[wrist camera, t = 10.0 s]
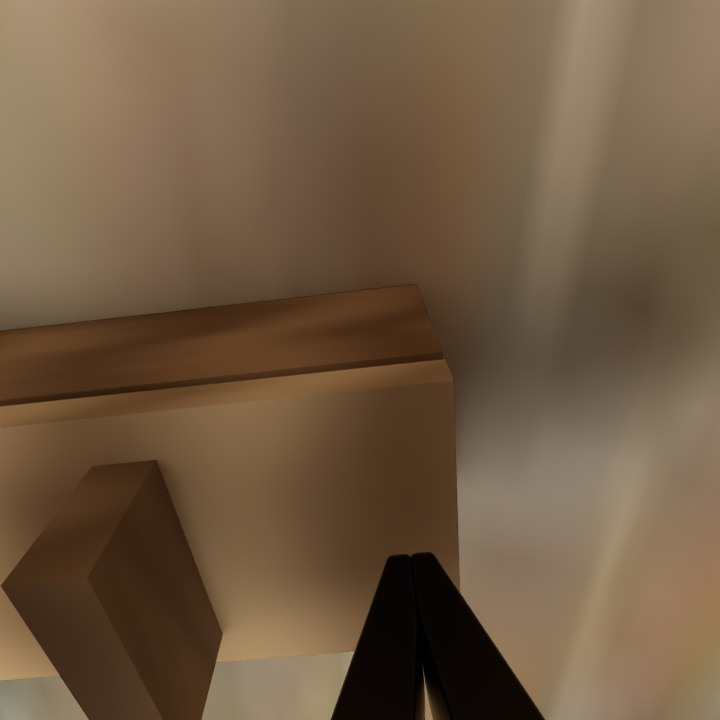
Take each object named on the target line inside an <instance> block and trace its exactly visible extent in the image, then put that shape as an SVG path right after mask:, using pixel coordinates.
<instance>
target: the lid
mask: <svg viewBox="0 0 720 720" xmlns="http://www.w3.org/2000/svg"><path fill="white" fill-rule="evenodd" d="M421 552H432V553H433V554H434V555H435V556H436V558H437V559H438V561H439V562H440V564H441V565H442V567H443V568H444V570H445V571H446V573H447V574H448V576H449V577H450V579H451V580H452V581H453V583H454V584H455V586H456V587H457V589H458V590H459V592H460V578H459V544H458V510H457V477H456V443H455V409H454V380H453V377H452V375H451V372H450V370H449V367H448V365H447V362H446V359H442V360H433V361H423V362H414V363H405V364H395V365H386V366H376V367H367V368H358V369H348V370H339V371H330V372H320V373H311V374H301V375H292V376H283V377H273V378H264V379H254V380H245V381H236V382H226V383H217V384H208V385H198V386H189V387H179V388H170V389H161V390H151V391H142V392H133V393H123V394H114V395H104V396H95V397H86V398H76V399H67V400H57V401H48V402H39V403H29V404H20V405H11V406H1V407H0V680H12V679H24V678H37V677H49V676H60V677H61V678H62V680H63V681H64V683H65V684H66V686H67V687H68V689H69V690H70V692H71V693H72V695H73V696H74V698H75V699H76V701H77V702H78V704H79V705H80V707H81V708H82V710H83V711H84V713H85V714H86V716H87V717H88V719H89V720H201V718H202V714H203V710H204V706H205V703H206V699H207V695H208V691H209V687H210V683H211V679H212V675H213V671H214V667H215V663H218V662H230V661H242V660H254V659H266V658H278V657H290V656H302V655H314V654H326V653H338V652H350V651H355V649H356V646H357V643H358V640H359V637H360V634H361V632H362V629H363V626H364V623H365V620H366V617H367V614H368V612H369V609H370V606H371V603H372V600H373V597H374V594H375V591H376V589H377V586H378V583H379V580H380V577H381V574H382V571H383V569H384V566H385V563H386V560H387V558H388V557H389V556H390V555H398V554H408V555H409V556H410V558H411V555H412V554H413V553H421Z"/></svg>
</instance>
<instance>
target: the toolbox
mask: <svg viewBox="0 0 720 720" xmlns="http://www.w3.org/2000/svg"><path fill="white" fill-rule="evenodd" d="M442 359H443V352H442V349H441V347H440V344H439V341H438V339H437V336H436V334H435V331H434V329H433V326H432V323H431V321H430V318H429V316H428V313H427V311H426V308H425V305H424V303H423V300H422V298H421V295H420V293H419V290H418V287H417V285H416V284H414V285H406V286H397V287H388V288H379V289H370V290H361V291H353V292H344V293H335V294H326V295H317V296H308V297H299V298H291V299H282V300H273V301H264V302H255V303H246V304H238V305H229V306H220V307H211V308H202V309H193V310H185V311H176V312H167V313H158V314H149V315H140V316H131V317H123V318H114V319H105V320H96V321H87V322H78V323H70V324H61V325H52V326H43V327H34V328H25V329H17V330H8V331H0V407H1V406H11V405H20V404H29V403H39V402H48V401H57V400H67V399H76V398H86V397H95V396H104V395H114V394H123V393H133V392H142V391H151V390H161V389H170V388H179V387H189V386H198V385H208V384H217V383H226V382H236V381H245V380H254V379H264V378H273V377H283V376H292V375H301V374H311V373H320V372H330V371H339V370H348V369H358V368H367V367H376V366H386V365H395V364H405V363H414V362H423V361H433V360H442Z"/></svg>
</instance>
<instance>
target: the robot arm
mask: <svg viewBox="0 0 720 720" xmlns="http://www.w3.org/2000/svg"><path fill="white" fill-rule="evenodd" d="M422 663H423V664H422ZM423 671H424V675H423ZM424 678H425V684H426V689H427V694H428V699H429V703H430V708H431V712H432V716H433V720H545V719H544V717H543V716H542V714H541V713H540V711H539V710H538V708H537V707H536V705H535V704H534V702H533V701H532V699H531V698H530V696H529V695H528V693H527V692H526V690H525V689H524V687H523V686H522V684H521V683H520V681H519V680H518V678H517V677H516V675H515V674H514V672H513V671H512V669H511V668H510V666H509V665H508V663H507V662H506V660H505V659H504V657H503V656H502V655H501V653H500V652H499V650H498V649H497V647H496V646H495V644H494V643H493V641H492V640H491V638H490V637H489V635H488V634H487V632H486V631H485V629H484V628H483V626H482V625H481V623H480V622H479V620H478V619H477V617H476V616H475V614H474V613H473V611H472V610H471V608H470V607H469V605H468V604H467V602H466V601H465V599H464V598H463V596H462V595H461V593H460V592H459V590H458V589H457V587H456V586H455V584H454V583H453V581H452V580H451V579H450V577H449V576H448V574H447V573H446V571H445V570H444V568H443V567H442V565H441V564H440V562H439V561H438V559H437V558H436V556H435V555H434V554H433V553H432V552H421V553H413V554H412V555H411V558H410V556H409V555H408V554H398V555H390V556H389V557H388V558H387V560H386V563H385V566H384V569H383V571H382V574H381V577H380V580H379V583H378V586H377V589H376V591H375V594H374V597H373V600H372V603H371V606H370V609H369V612H368V614H367V617H366V620H365V623H364V626H363V629H362V632H361V634H360V637H359V640H358V643H357V646H356V649H355V652H354V655H353V657H352V660H351V663H350V666H349V669H348V672H347V675H346V677H345V680H344V683H343V686H342V689H341V692H340V695H339V698H338V700H337V703H336V706H335V709H334V712H333V715H332V718H331V720H425V690H424Z"/></svg>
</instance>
